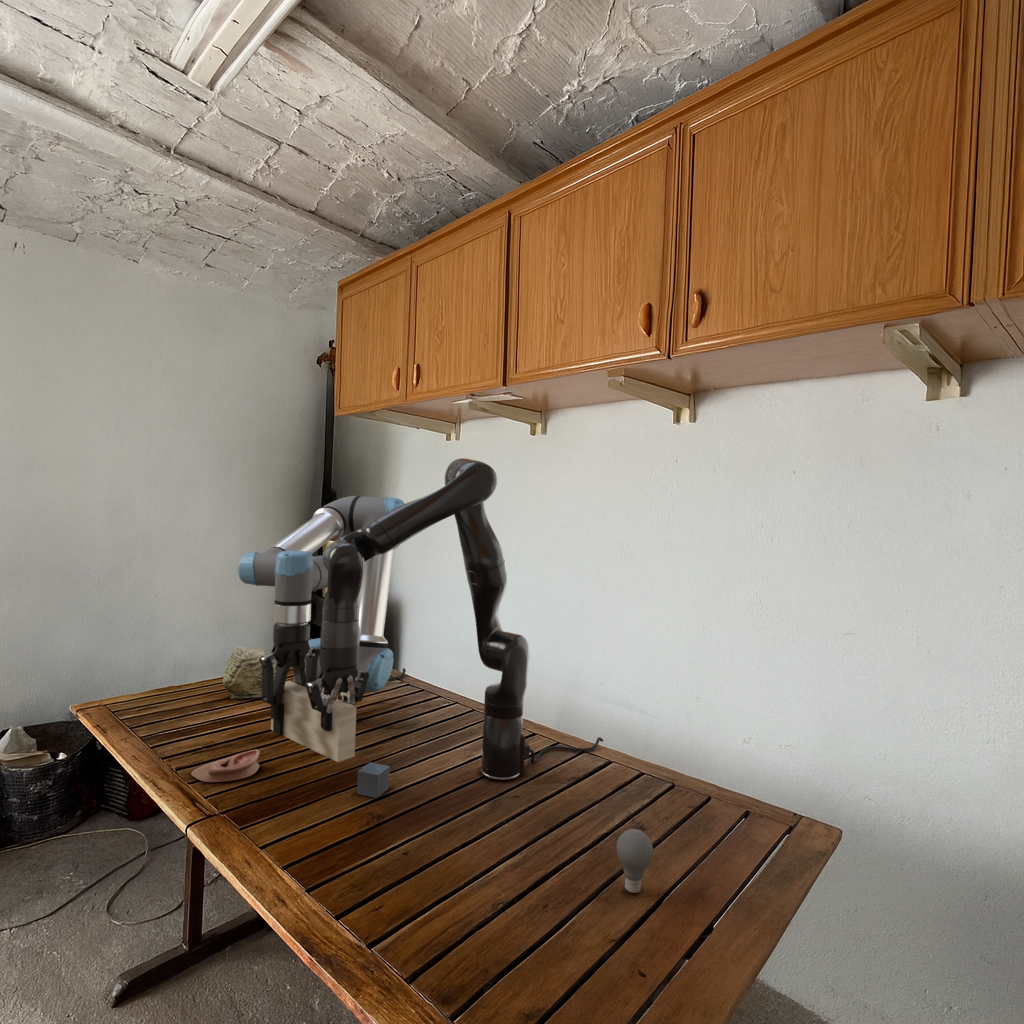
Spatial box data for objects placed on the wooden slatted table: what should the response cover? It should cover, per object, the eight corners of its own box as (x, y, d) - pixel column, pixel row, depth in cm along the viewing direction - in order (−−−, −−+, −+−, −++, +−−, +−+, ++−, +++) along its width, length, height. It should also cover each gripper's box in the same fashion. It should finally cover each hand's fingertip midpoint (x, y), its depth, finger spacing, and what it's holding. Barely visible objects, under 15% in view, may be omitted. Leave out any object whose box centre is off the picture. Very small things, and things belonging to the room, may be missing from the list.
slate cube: (369, 784, 140) (370, 762, 140) (389, 788, 139) (389, 766, 139) (356, 794, 136) (357, 770, 136) (377, 798, 134) (378, 775, 134)
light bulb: (610, 879, 108) (613, 822, 108) (644, 879, 109) (647, 822, 109) (619, 902, 102) (622, 840, 102) (655, 901, 103) (658, 840, 103)
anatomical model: (182, 760, 139) (216, 741, 150) (181, 778, 139) (216, 758, 150) (236, 768, 136) (267, 748, 147) (235, 786, 136) (266, 765, 147)
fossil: (218, 695, 195) (220, 647, 195) (278, 685, 208) (279, 640, 207) (228, 703, 189) (230, 653, 188) (289, 692, 201) (290, 645, 201)
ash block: (270, 729, 137) (272, 684, 137) (287, 725, 141) (288, 680, 140) (337, 762, 123) (339, 711, 122) (354, 756, 126) (356, 706, 125)
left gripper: (316, 615, 145) (312, 716, 146) (245, 625, 132) (241, 736, 132) (336, 620, 141) (332, 725, 141) (264, 631, 127) (260, 746, 128)
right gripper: (357, 633, 134) (354, 714, 134) (297, 643, 123) (294, 731, 123) (380, 639, 129) (377, 723, 129) (320, 650, 118) (316, 742, 118)
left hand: (288, 730), depth 137 cm, fingers closed on ash block, 4 cm apart
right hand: (336, 727), depth 126 cm, fingers closed on ash block, 4 cm apart
